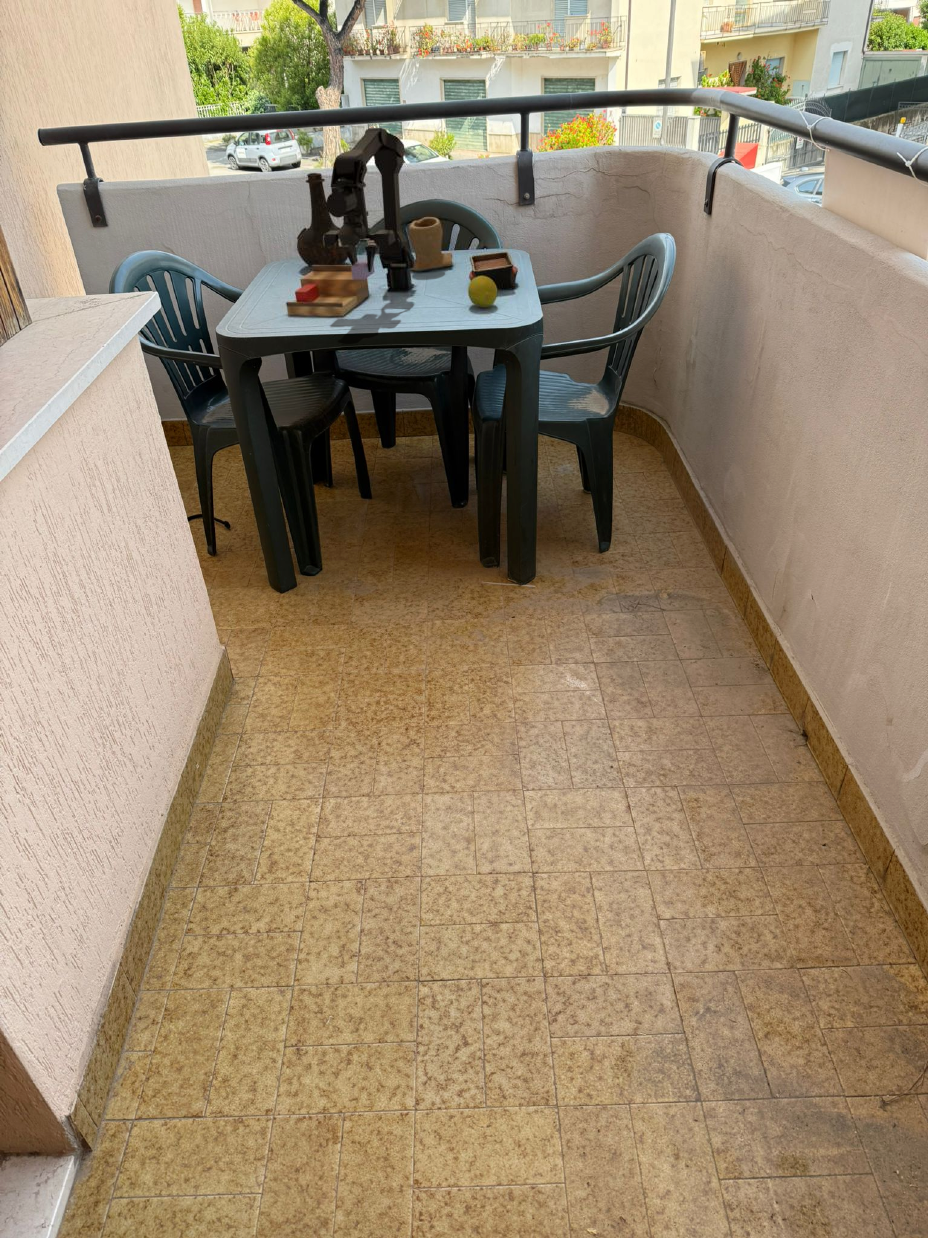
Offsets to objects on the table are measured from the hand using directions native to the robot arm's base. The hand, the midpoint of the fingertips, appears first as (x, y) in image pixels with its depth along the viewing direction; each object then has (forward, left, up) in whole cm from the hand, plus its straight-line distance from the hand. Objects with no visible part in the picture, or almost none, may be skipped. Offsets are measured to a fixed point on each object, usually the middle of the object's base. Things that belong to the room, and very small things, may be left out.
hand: (363, 271), depth 229 cm
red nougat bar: (+19, -2, -8) cm, 21 cm away
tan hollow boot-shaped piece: (-4, -47, -11) cm, 48 cm away
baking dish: (-29, -29, -11) cm, 42 cm away
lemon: (-31, -8, -11) cm, 34 cm away
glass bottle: (+34, -49, -11) cm, 60 cm away
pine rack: (+15, -7, -11) cm, 19 cm away
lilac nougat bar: (0, 0, -1) cm, 1 cm away
